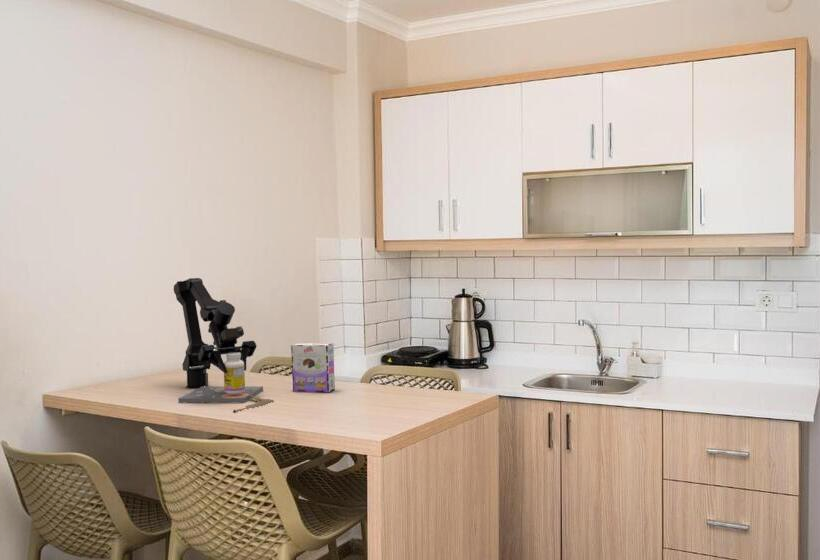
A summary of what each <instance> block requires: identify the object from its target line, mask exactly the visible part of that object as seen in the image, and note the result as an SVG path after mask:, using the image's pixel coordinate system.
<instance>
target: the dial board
mask: <svg viewBox="0 0 820 560" xmlns="http://www.w3.org/2000/svg"><path fill="white" fill-rule="evenodd" d="M260 392H261V393H262V392H264V386H245V391H244V392H242V393H237V394H228V393H226V392H225V389H224V386H205V387H200V388H195V390H193V391H190V392H189V393H186V394H184V395H183V396H180V397H179V398H177V399H178V403H179V402H242V403H241V404H245V403H246V402H248V401H250V400H251V399H253V398H252V397H250V395H251V396H255V395H256V396H257V395H259V394H261V393H260ZM256 396H255V397H256ZM250 398H251V399H250ZM249 399H250V400H249ZM247 400H248V401H247ZM244 402H245V403H244Z"/></svg>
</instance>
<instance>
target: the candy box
mask: <svg viewBox="0 0 820 560" xmlns="http://www.w3.org/2000/svg"><path fill="white" fill-rule="evenodd" d="M290 349H291V352H290V353H291V371H292V392H297V393H298V392H299V393H300V392H301V393H305V392H306V393H330V392H333V391H335V390H336V384H335V383H336V381H335V380H336V379H335V355H334V343H331V342H328V343H327V342H323V343H322V342H297V343H293V344H291V345H290Z"/></svg>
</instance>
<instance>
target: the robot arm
mask: <svg viewBox="0 0 820 560" xmlns="http://www.w3.org/2000/svg"><path fill="white" fill-rule="evenodd" d="M173 293H174V294H175V298H176V300H177V302H178V303H179V304H180V305H181V306H182V311H183V317H184V322H185V329H186V335H187V341H188V346H187V348H186V350H185V357H184V359H183V363H182V371H185V372H186V386H185V387H204V386H205V387H207V386H209V385H208V384H209V373H208V372H207V370H211V365H213V366H215V367H216V368H218V369H219V371H221V372H222V373H223V374H224V373H226V372H227V370H226V367H225V365H224V363H225V361H224V360H223V358H222V355H226V354H227V353H233V352H238V353H241V358H240V360H242V361H243V362H244V372H246V370H247V358H248V357H249V358H251V357H252V356H253V355H254V354H255V351H256V348H257V344H256V342H255V340H245V341H242V343H241V345H239V346H236V344H238V339H240V338H241V337H243V336H244V334H245V332H244V328H243V327H242V326H236V327H230V328H228V325H229V324H230V323H231V321H232V318H233V316H234V313H235V311H236V308H235V306H234V305H233V304H231V303H229V302H227V301H226V299H222V300H221V299H220V300H219V301H218V300H216V299H213V297H212V296H211V294H210V293H209V290H208V289H207V288H206V286H205V285H204V282H203V279H202V278H200V277H193V278H192V277H191V278H187V279H186V280H179V281H177V282H176V283H175V284H174V285H173ZM196 303H197V304H198V306H199V307H200V310H199V315H200V319H202V321H203V322H205V323H207V322H209V324H208V330H207V332H208V333H209V334H210V333H211V336H212V338H213V343H212V344H208V343H205V341H203V339H202V331H201V327H200V321H199V315H198V310H197V304H196ZM206 385H207V386H206Z"/></svg>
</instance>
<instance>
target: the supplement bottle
mask: <svg viewBox="0 0 820 560" xmlns="http://www.w3.org/2000/svg"><path fill="white" fill-rule="evenodd" d="M225 357H226V361H224V365H225V367H226V370H227V372H226V373H224V372H223V382H224V383H223V385H224V386H223V387H224V389H225V392H226V393H228V394H237V393H242V392H244V391H245V387H246V378H245V376H246V375H245V371H244V362H243V361H242V360H240V358H241V353H238V352H233V353H227V354H225Z"/></svg>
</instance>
